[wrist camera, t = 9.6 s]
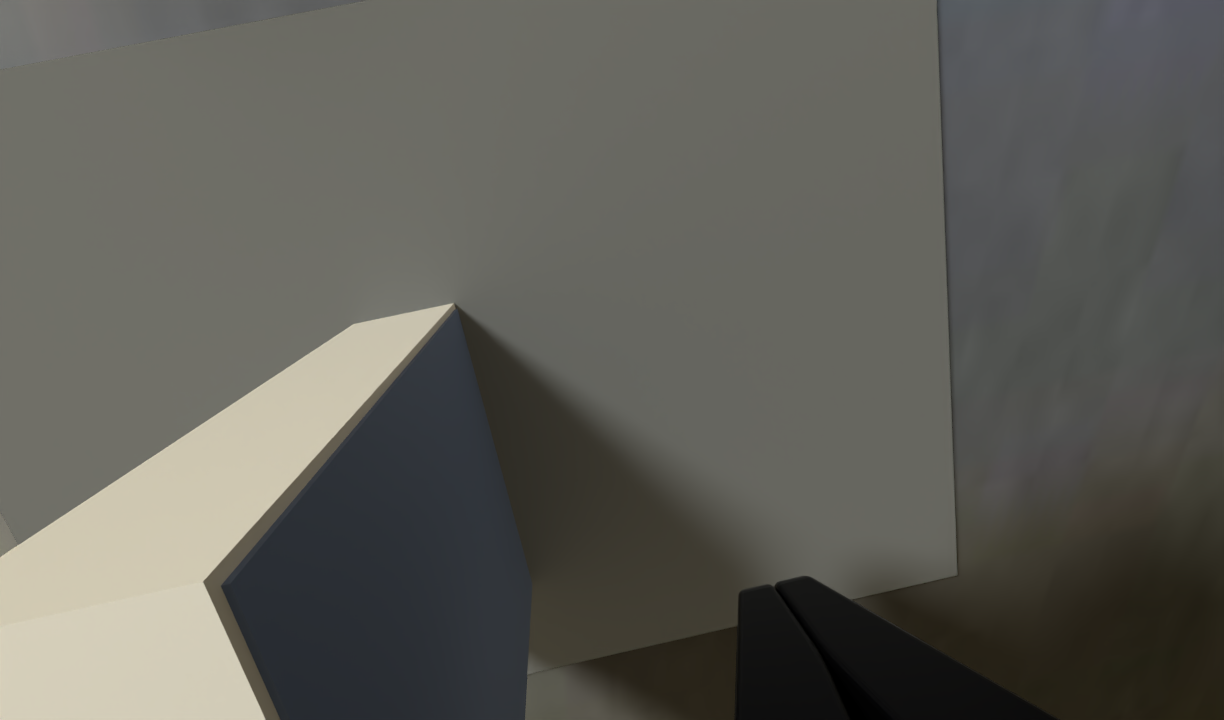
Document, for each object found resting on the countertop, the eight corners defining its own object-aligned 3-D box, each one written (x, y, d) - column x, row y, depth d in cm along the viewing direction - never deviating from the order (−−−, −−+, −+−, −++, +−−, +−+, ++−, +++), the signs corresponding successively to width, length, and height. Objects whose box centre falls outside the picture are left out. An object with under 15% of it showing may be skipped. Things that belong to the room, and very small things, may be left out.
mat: (910, -91, 10) (932, -108, 10) (940, 559, 14) (957, 575, 13) (-173, 116, 10) (-219, 111, 9) (155, 739, 13) (137, 763, 13)
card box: (533, 584, 12) (499, 1220, 5) (445, 604, 12) (265, 1282, 5) (456, 302, 11) (212, 580, 3) (353, 324, 11) (-160, 663, 3)
